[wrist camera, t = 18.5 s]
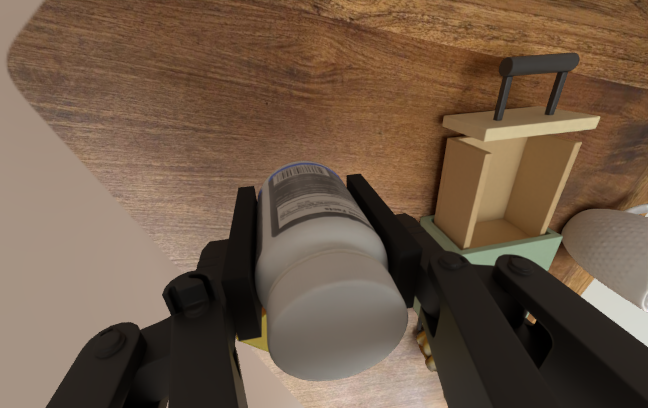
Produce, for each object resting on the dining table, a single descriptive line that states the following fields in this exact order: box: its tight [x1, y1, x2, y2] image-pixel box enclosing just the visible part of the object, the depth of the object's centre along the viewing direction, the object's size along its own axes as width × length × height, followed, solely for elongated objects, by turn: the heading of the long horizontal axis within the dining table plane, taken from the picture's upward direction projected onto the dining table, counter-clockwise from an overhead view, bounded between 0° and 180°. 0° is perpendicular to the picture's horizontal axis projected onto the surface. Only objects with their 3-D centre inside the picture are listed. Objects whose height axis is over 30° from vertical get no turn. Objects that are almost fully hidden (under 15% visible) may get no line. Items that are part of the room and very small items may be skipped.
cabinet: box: [413, 215, 563, 318], centre depth 39 cm, size 17×14×9 cm
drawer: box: [434, 53, 600, 250], centre depth 31 cm, size 21×12×7 cm, turn 3°
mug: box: [561, 204, 648, 312], centre depth 39 cm, size 15×11×13 cm
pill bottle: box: [254, 161, 408, 381], centre depth 11 cm, size 5×5×8 cm
